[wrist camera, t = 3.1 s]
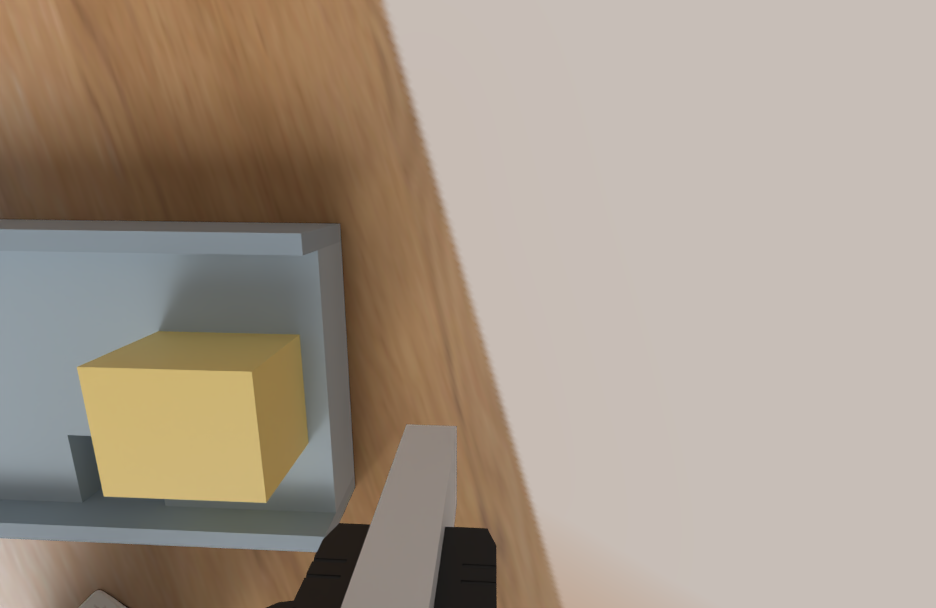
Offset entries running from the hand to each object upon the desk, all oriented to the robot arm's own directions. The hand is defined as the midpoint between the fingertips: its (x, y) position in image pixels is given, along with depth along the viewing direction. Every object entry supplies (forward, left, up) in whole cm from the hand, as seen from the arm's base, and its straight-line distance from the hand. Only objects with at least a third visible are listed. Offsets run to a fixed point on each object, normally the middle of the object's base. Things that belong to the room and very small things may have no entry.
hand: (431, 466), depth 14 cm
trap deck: (0, +17, -9) cm, 19 cm away
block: (0, +9, -6) cm, 11 cm away
